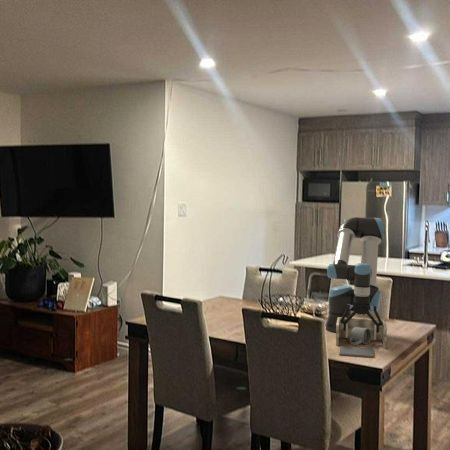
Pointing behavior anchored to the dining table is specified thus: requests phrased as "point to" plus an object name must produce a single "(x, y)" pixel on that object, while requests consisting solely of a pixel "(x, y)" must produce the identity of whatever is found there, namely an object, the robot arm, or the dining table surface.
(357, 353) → the rubber mat
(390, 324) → the dining table surface
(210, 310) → the dining table surface
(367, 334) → the ceramic mug
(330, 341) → the dining table surface
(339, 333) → the open box
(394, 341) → the dining table surface
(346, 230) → the robot arm
